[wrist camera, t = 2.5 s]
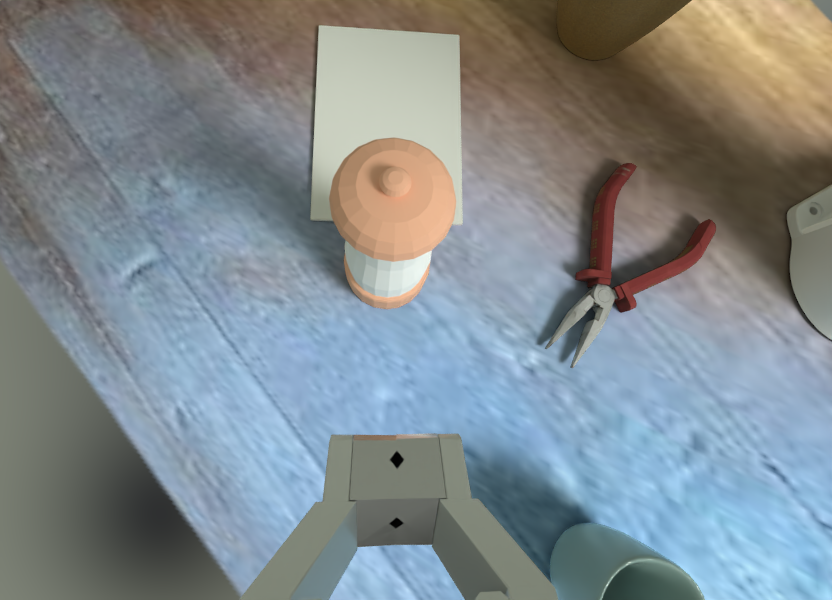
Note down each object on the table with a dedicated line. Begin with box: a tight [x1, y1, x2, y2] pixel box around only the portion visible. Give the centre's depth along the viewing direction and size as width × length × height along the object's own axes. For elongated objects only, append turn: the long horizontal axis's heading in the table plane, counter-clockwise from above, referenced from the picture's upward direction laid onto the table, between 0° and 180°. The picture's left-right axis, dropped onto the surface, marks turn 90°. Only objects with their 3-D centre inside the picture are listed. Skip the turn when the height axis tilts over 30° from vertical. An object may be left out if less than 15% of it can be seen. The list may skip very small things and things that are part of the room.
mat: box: [310, 25, 463, 225], centre depth 43 cm, size 20×14×1 cm
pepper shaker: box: [329, 138, 456, 309], centre depth 32 cm, size 7×7×19 cm
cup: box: [550, 523, 705, 600], centre depth 33 cm, size 8×8×10 cm
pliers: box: [545, 163, 716, 368], centre depth 42 cm, size 12×20×3 cm, turn 143°
